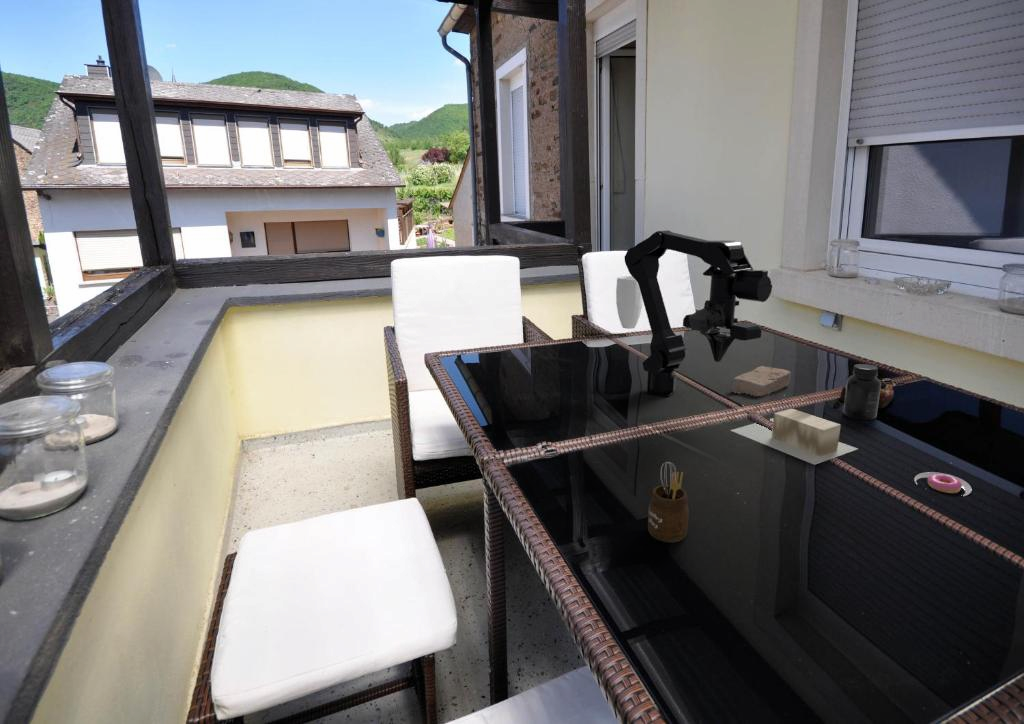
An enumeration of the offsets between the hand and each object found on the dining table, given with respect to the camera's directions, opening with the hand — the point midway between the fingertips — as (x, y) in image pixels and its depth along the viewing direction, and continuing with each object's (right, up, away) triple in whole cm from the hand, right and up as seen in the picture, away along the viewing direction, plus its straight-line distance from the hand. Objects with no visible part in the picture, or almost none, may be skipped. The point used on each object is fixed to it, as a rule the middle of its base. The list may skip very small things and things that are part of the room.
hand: (717, 361), depth 140 cm
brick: (+18, -8, +17) cm, 26 cm away
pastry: (+40, -10, +8) cm, 42 cm away
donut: (+28, -22, -34) cm, 50 cm away
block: (+8, -13, -15) cm, 22 cm away
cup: (-5, +10, +81) cm, 81 cm away
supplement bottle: (+32, -13, -3) cm, 35 cm away
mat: (+10, -17, -16) cm, 26 cm away
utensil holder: (-25, -27, -49) cm, 61 cm away
